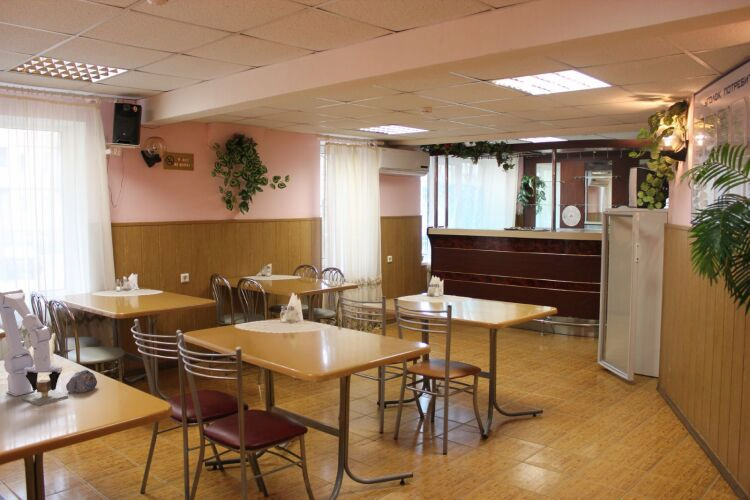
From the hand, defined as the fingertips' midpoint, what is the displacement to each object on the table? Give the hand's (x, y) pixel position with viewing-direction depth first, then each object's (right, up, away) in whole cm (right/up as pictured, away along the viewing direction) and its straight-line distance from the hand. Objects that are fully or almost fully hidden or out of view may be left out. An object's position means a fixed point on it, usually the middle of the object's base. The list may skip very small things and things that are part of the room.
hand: (44, 389), depth 255 cm
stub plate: (0, -4, 0) cm, 4 cm away
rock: (+10, -3, +10) cm, 14 cm away
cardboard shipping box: (0, 0, 0) cm, 0 cm away
